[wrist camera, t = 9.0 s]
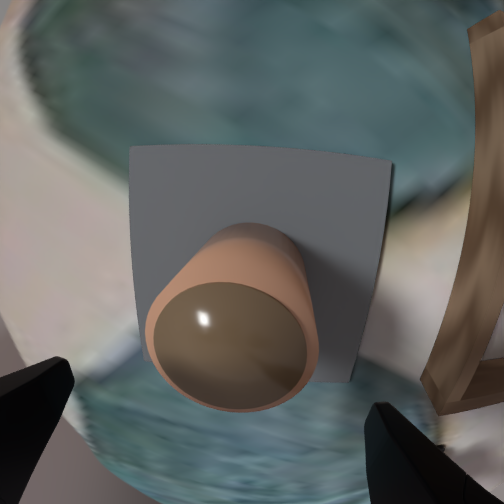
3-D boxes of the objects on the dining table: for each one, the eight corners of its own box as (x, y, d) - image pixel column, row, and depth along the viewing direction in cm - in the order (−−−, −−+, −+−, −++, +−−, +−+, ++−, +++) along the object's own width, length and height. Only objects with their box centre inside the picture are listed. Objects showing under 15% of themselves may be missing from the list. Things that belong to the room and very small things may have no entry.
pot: (299, 328, 17) (304, 421, 10) (197, 318, 17) (154, 401, 11) (311, 227, 15) (334, 280, 8) (196, 218, 16) (134, 262, 9)
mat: (347, 379, 18) (348, 382, 18) (145, 358, 19) (144, 360, 19) (389, 161, 14) (391, 161, 14) (132, 146, 15) (129, 146, 15)
